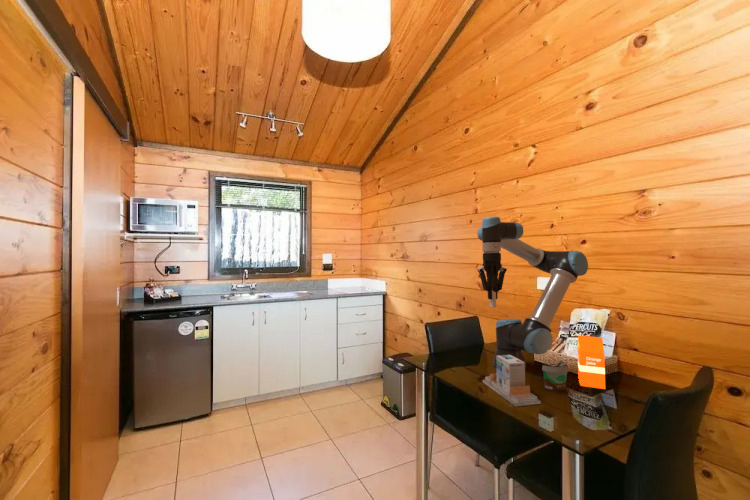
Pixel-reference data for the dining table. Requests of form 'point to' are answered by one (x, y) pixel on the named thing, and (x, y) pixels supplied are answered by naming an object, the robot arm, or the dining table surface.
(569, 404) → the dining table surface
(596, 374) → the orange juice
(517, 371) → the light bulb box
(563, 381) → the food container
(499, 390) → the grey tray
